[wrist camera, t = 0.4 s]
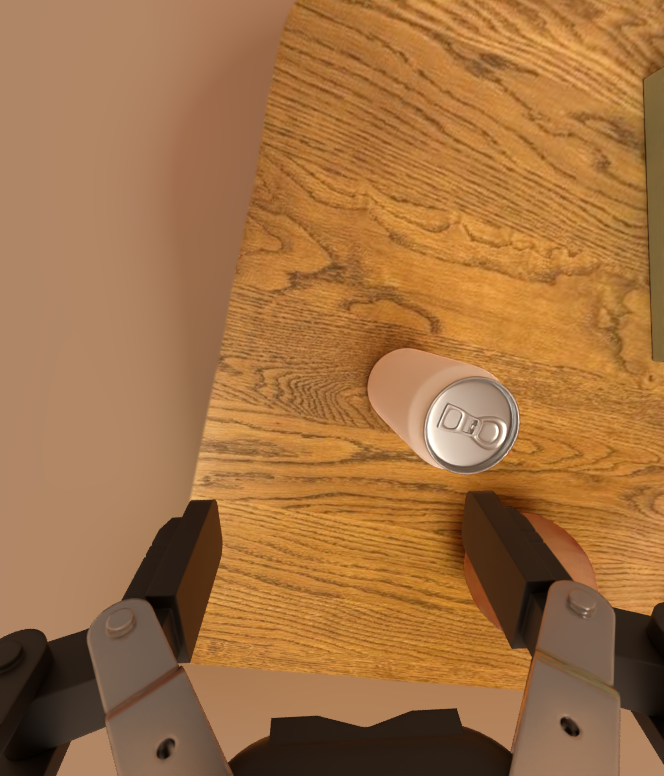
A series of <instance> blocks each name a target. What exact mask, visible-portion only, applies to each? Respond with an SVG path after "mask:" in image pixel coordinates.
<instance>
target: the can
mask: <svg viewBox="0 0 664 776" xmlns="http://www.w3.org/2000/svg"><path fill="white" fill-rule="evenodd" d="M367 389H368V397H369V400H370V403H371V405H372V407H373V408H374V410H375V411H376V412H377V414H378V415H379V416H380V417H381V418H382V419H383V420H384V421H385V422H386V423H387V424H388V425H389V426H390V427H391V428H392V429H393V430H394V431H395V432H396V433H397V434H398V435H399V436H400V437H401V438H402V439H403V440H404V441H405V442H406V443H407V444H408V445H409V446H410V447H411V448H412V449H413V450H414V451H415V452H416V453H417V454H418V455H419V456H420V457H421V458H422V459H423V460H425V461H426V462H428V463H429V464H431V465H433V466H435V467H438V468H441V469H445V470H448V471H450V472H453V473H457V474H464V475H468V474H476V473H480V472H483V471H486V470H488V469H490V468H492V467H493V466H495V465H496V464H498V463H499V462H500V461H501V460H502V459H503V458H504V457H505V456H506V455H507V454H508V453H509V451H510V450H511V448H512V447H513V445H514V443H515V441H516V438H517V436H518V432H519V427H520V413H519V408H518V405H517V402H516V400H515V398H514V396H513V395H512V393H511V392H510V391H509V390H508V389H507V388H506V387H505V386H504V385H503V384H501V382H500V381H499V380H498V379H497V378H496V377H495V376H494V375H492V374H491V373H490V372H488V371H486V370H484V369H482V368H480V367H477V366H474V365H471V364H468V363H464V362H461V361H457V360H454V359H450V358H447V357H443V356H440V355H436V354H432V353H429V352H425V351H421V350H417V349H412V348H403V349H397V350H394V351H392V352H390V353H388V354H386V355H385V356H383V357H382V358H381V359H380V360H379V361H378V362H377V363H376V364H375V366H374V367H373V369H372V371H371V373H370V376H369V380H368V388H367Z"/></svg>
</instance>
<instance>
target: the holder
mask: <svg viewBox="0 0 664 776" xmlns="http://www.w3.org/2000/svg"><path fill="white" fill-rule="evenodd" d="M644 109H645V138H646V168H647V198H648V228H649V258H650V288H651V318H652V348H653V361H658V362H664V67H663V68H661V69H660V70H658V71H656V72H655V73H653V74H652V75H650V76H648V77H647V78H645V79H644Z"/></svg>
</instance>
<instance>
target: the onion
mask: <svg viewBox="0 0 664 776" xmlns="http://www.w3.org/2000/svg"><path fill="white" fill-rule="evenodd" d="M521 514H523V515H524V516H525V517H526V518H527V519H528V520H529V522H530V523H531V524H532V526H533V527H534V528H535V531H536V532H538V534H539V535H540V536H541V538H542V539H543V542H544V543H546V544H547V545H548V547H549V548H550V549H551V551H552V552H553V553H554V555H555V556H556V557H557V559H558V560H559V561H560V563H561V564H562V565H563V567H564V568H565V569H566V571H567V572H568V573H569V575H570V576H571V577H572V579H573V580H574V581H575V582H579V583H582V584H584V585H587V586H589V587H591V588H592V589H594V590H596V591H597V592H598V590H597V583H596V578H595V574H594V570H593V567H592V565H591V563H590V560H589V559H588V557H587V555H586V553H585V552H584V551H583V549H582V548H581V546H580V545H579V544H578V543H577V542H576V540H575V539H574V538H573V537H572V536H571V535H570V534H568V533H567V532H566V531H565V530H564V529H562V528H561V527H559V526H558V525H556V524H555V523H553V522H551V521H549V520H547V519H546V518H544V517H542V516H539V515H536V514H532V513H521ZM464 574H465V579H466V583H467V585H468V588H469V591H470V593H471V595H472V597H473V600H474V601H475V603H476V605H477V607H478V608H479V609H480V611H481V612H482V613H483V615H484V616H485V617H486V618H487V619H488V620H489V621H490V622H491V623H492V624H494V625H495V626H496V627H497V628H498V629H500V630H501V631H503V629H502V627H501V625H500V623H499V621H498V619H497V617H496V615H495V613H494V611H493V608H492V606H491V604H490V602H489V600H488V598H487V596H486V594H485V592H484V590H483V588H482V585H481V583H480V581H479V579H478V577H477V575H476V573H475V571H474V569H473V567H472V564H471V562H470V560H469V558H468V556H467V554H466V552H465V558H464Z"/></svg>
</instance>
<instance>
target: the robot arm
mask: <svg viewBox="0 0 664 776" xmlns="http://www.w3.org/2000/svg"><path fill="white" fill-rule="evenodd" d="M461 536H462V543H463V547H464V550H465V552H466V554H467V556H468V558H469V560H470V562H471V564H472V567H473V569H474V571H475V573H476V575H477V577H478V579H479V581H480V583H481V585H482V588H483V590H484V592H485V594H486V596H487V598H488V600H489V602H490V604H491V606H492V608H493V611H494V613H495V615H496V617H497V619H498V621H499V623H500V625H501V627H502V629H503V632H504V634H505V636H506V638H507V640H508V642H509V644H510V646H511V648H512V649H518V648H527V649H528V651H529V652H530V654H531V656H532V659H531V663H530V668H529V672H528V677H527V681H526V686H525V690H524V695H523V699H522V703H521V708H520V713H519V717H518V721H517V726H516V730H515V735H514V739H513V743H512V747H511V751H508V750H507V749H506V748H505V747H503V746H502V745H500V744H499V743H498V742H496V741H495V740H493V739H492V738H490V737H488V736H486V735H484V734H482V733H480V732H478V731H475V730H473V729H470V728H467V727H464V726H462V724H461V721H460V718H459V714H458V711H457V708H456V709H438V710H437V709H436V710H418V711H410V712H407V713H405V714H402V715H399V716H397V717H394V718H391V719H389V720H386V721H383V722H381V723H379V724H376V725H373V726H370V727H360V726H356V725H352V724H348V723H344V722H340V721H336V720H332V719H328V718H324V717H321V716H303V717H284V718H271V728H270V736H268V737H265V738H263V739H260V740H258V741H257V742H255V743H253V744H251V745H249V746H248V747H246V748H245V749H244V750H242V751H241V752H240V753H238V754H237V755H236V756H235V757H234V758H233V759H231V761H229V762H227V760H226V758H225V756H224V754H223V752H222V749H221V747H220V745H219V743H218V741H217V739H216V737H215V734H214V732H213V730H212V728H211V725H210V723H209V721H208V719H207V717H206V715H205V712H204V711H203V708H202V706H201V704H200V702H199V699H198V697H197V695H196V693H195V691H194V689H193V686H192V684H191V682H190V680H189V678H188V676H187V673H186V672H185V670H184V668H183V667H182V666H180V667H179V665H178V663H190V661H191V658H192V654H193V651H194V648H195V644H196V641H197V637H198V634H199V631H200V627H201V624H202V620H203V617H204V614H205V610H206V607H207V604H208V600H209V597H210V593H211V590H212V587H213V583H214V580H215V577H216V573H217V570H218V566H219V563H220V560H221V555H222V533H221V526H220V519H219V512H218V505H217V502H216V500H191V501H190V502H189V504H188V506H187V508H186V510H185V512H184V514H183V517H178V518H172V519H171V520H169V521H168V522H167V523H166V524H165V525H164V526H163V527H162V528H161V529H160V530H159V531H158V533H157V535H156V537H155V539H154V541H153V542H152V546H151V547H150V548H149V550H148V552H147V554H146V557H145V558H144V559H143V561H142V563H141V565H140V567H139V569H138V570H137V572H136V574H135V576H134V578H133V580H132V582H131V584H130V585H129V587H128V589H127V591H126V593H125V595H124V597H123V599H122V600H121V601H120V602H118V603H115V604H113V605H112V606H110V607H109V608H107V609H106V610H104V611H103V612H102V613H101V614H100V615H99V616H98V617H97V618H96V619H95V620H94V621H93V623H92V624H91V626H90V628H88V629H86V630H83V631H81V632H78V633H75V634H71V635H68V636H65V637H62V638H59V639H56V640H52V641H49V642H47V639H46V636H45V635H44V633H43V632H41V631H39V630H36V629H25V630H20V631H17V632H14V633H11V634H9V635H7V636H4V637H3V638H1V639H0V776H56V775H57V772H58V770H59V768H60V765H61V763H62V761H63V758H64V756H65V754H66V752H67V749H68V747H69V745H70V742H71V741H72V740H74V739H77V738H79V737H82V736H84V735H87V734H89V733H92V732H94V731H97V730H99V729H102V728H104V727H106V730H107V734H108V738H109V742H110V746H111V750H112V755H113V759H114V763H115V767H116V771H117V775H118V776H620V707H621V708H624V709H627V710H631V712H632V713H633V715H634V717H635V718H636V720H637V722H638V723H639V725H640V726H641V728H642V730H643V731H644V733H645V735H646V736H647V738H648V739H649V741H650V743H651V744H652V746H653V748H654V749H655V751H656V753H657V754H658V756H659V758H660V759H661V761H662V762H663V764H664V602H662V603H659V604H657V605H656V606H655V607H654V609H653V612H652V614H651V616H649V615H644V614H640V613H635V612H631V611H626V610H622V609H618V608H614V607H612V606H611V605H610V603H609V602H608V601H607V600H606V599H605V598H604V597H603V596H602V595H601V594H600V593H598V592H597V591H596V590H594V589H592V588H591V587H589V586H587V585H584V584H582V583H579V582H575V581H574V580H573V579H572V577H571V576H570V575H569V573H568V572H567V571H566V569H565V568H564V567H563V565H562V564H561V563H560V561H559V560H558V559H557V557H556V556H555V555H554V553H553V552H552V551H551V549H550V548H549V547H548V545H547V544H546V543H544V542H543V539H542V538H541V536H540V535H539V534H538V532H536V531H535V528H534V527H533V526H532V524H531V523H530V522H529V520H528V519H527V518H526V517H525V516H524V515H523V514H521V513H520V512H519V511H517V510H516V509H514V508H513V507H512V506H504V505H503V504H502V502H501V501H500V499H499V498H498V497H497V495H496V494H495V493H494V492H493V491H469V492H467V494H466V499H465V506H464V514H463V522H462V530H461Z"/></svg>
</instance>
